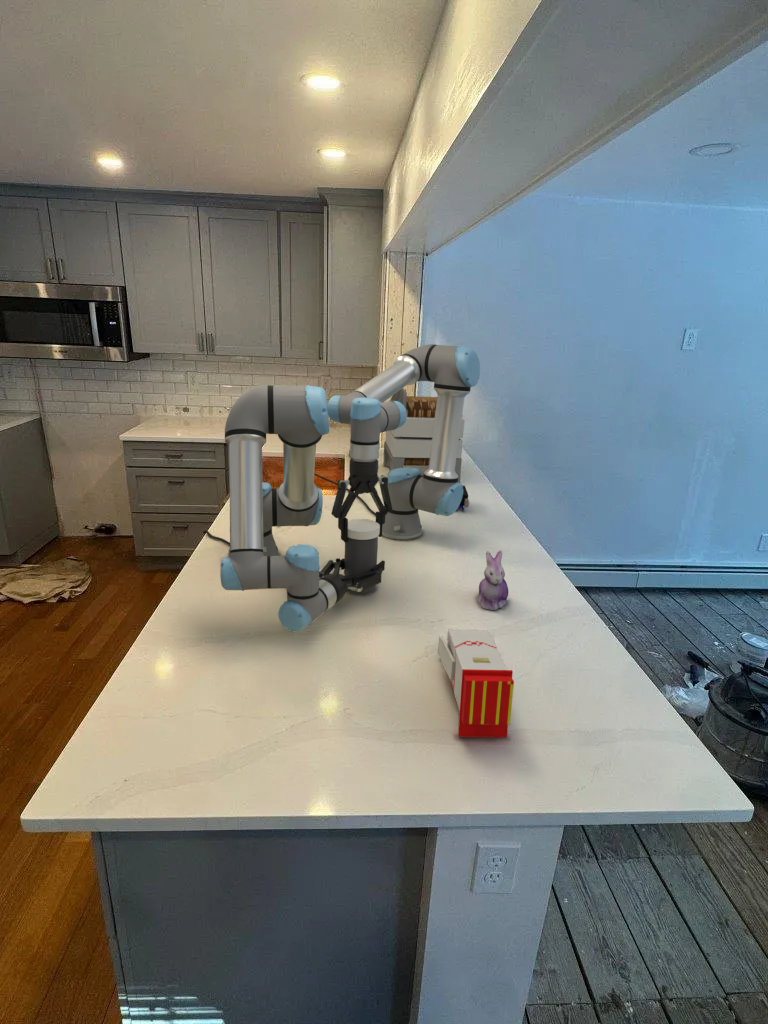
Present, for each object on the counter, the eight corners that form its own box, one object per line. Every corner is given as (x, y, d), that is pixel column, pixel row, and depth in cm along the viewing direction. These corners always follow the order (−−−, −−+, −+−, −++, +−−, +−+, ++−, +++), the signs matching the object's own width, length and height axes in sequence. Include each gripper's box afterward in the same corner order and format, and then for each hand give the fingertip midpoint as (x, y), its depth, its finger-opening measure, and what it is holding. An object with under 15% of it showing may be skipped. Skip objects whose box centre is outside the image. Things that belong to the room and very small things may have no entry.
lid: (369, 542, 149) (370, 534, 148) (337, 535, 152) (337, 527, 152) (385, 530, 157) (385, 522, 156) (354, 524, 161) (354, 516, 160)
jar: (337, 586, 161) (338, 525, 155) (362, 577, 166) (364, 519, 160) (357, 598, 154) (359, 536, 148) (382, 589, 160) (385, 528, 154)
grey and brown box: (382, 463, 289) (386, 382, 275) (445, 464, 293) (451, 384, 279) (390, 482, 257) (394, 392, 243) (460, 483, 261) (468, 394, 247)
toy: (488, 613, 130) (523, 677, 101) (484, 667, 133) (517, 744, 104) (435, 612, 130) (455, 676, 101) (432, 666, 133) (451, 743, 103)
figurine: (490, 614, 149) (496, 562, 144) (467, 597, 157) (472, 547, 152) (518, 607, 153) (525, 556, 148) (494, 591, 162) (500, 542, 156)
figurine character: (468, 516, 224) (463, 500, 237) (471, 498, 221) (465, 483, 234) (452, 515, 224) (447, 499, 237) (453, 498, 220) (449, 482, 234)
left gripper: (290, 595, 149) (335, 564, 168) (362, 617, 140) (402, 582, 159) (290, 569, 146) (336, 540, 165) (363, 590, 137) (403, 557, 156)
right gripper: (394, 452, 156) (390, 527, 163) (318, 458, 146) (318, 538, 153) (408, 458, 150) (403, 536, 157) (329, 465, 140) (328, 549, 147)
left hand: (368, 561), depth 162 cm, fingers closed on jar, 9 cm apart
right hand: (361, 537), depth 155 cm, fingers closed on lid, 10 cm apart
